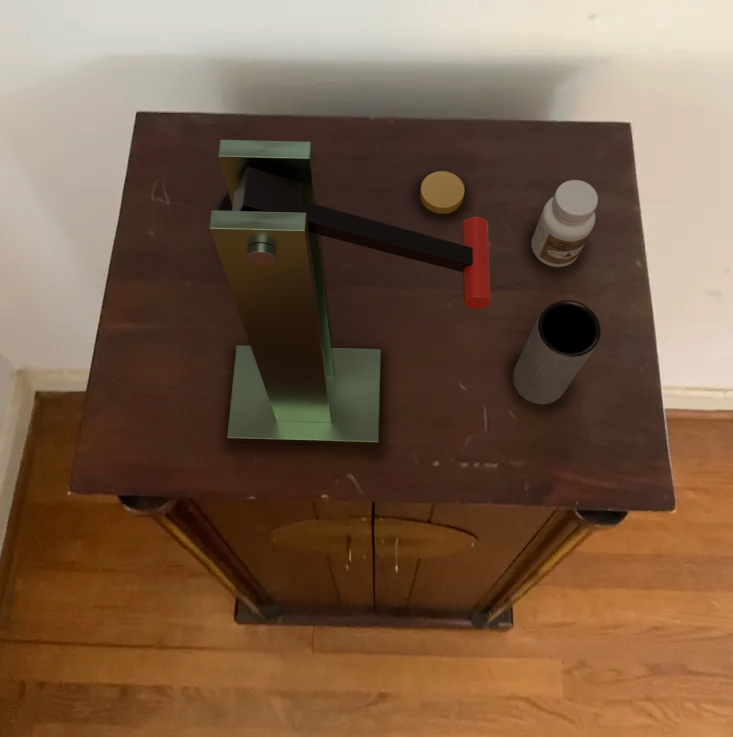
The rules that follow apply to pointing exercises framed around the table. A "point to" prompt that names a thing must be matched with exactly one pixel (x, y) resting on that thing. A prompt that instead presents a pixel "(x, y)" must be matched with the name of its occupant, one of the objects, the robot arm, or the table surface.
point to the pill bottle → (565, 224)
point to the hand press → (288, 318)
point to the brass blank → (442, 192)
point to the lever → (375, 231)
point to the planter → (556, 351)
